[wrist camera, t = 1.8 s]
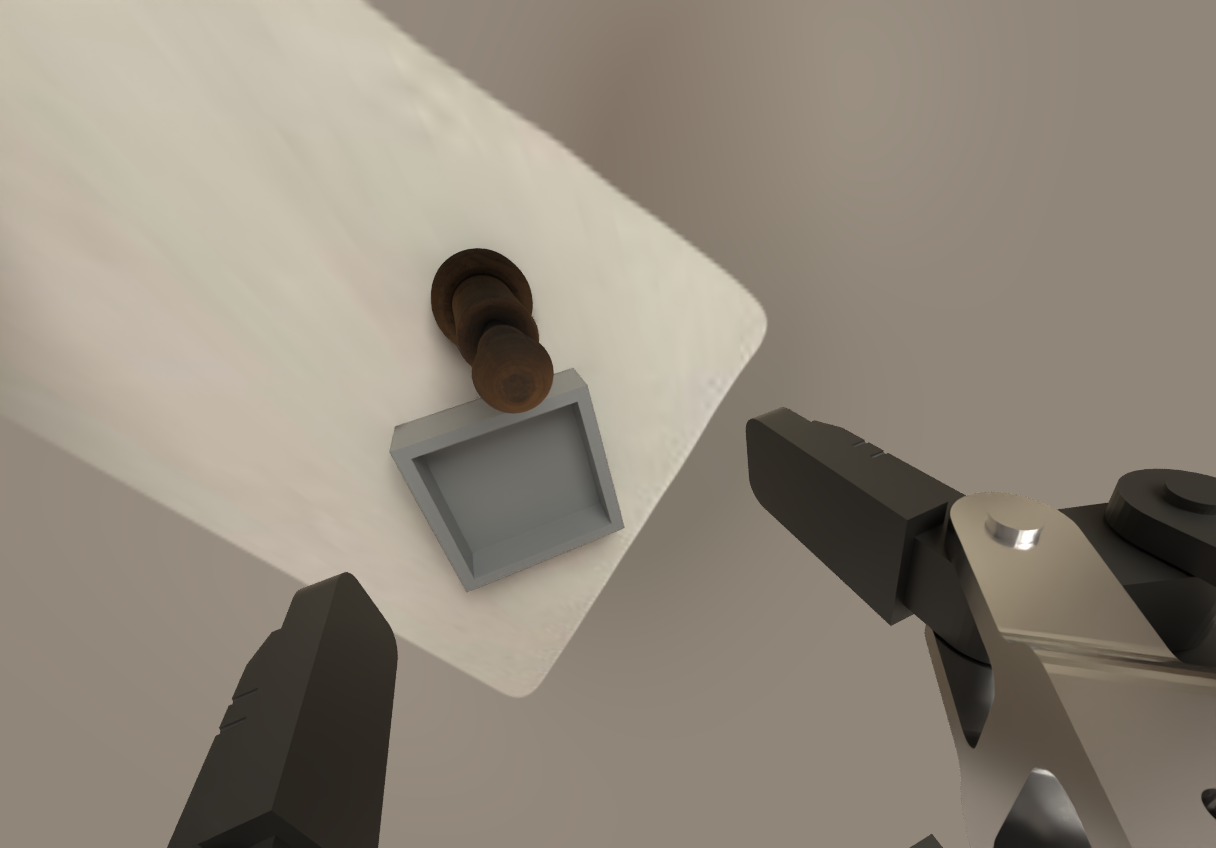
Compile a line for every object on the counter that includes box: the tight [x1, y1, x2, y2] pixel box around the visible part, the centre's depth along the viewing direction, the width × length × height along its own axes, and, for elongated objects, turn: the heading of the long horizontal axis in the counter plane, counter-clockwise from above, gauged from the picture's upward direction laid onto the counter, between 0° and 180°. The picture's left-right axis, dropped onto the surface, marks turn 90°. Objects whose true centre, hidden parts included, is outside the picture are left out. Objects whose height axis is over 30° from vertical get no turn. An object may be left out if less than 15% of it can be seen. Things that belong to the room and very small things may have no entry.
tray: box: [390, 368, 624, 592], centre depth 36 cm, size 14×14×4 cm
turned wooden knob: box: [431, 248, 554, 414], centre depth 23 cm, size 7×6×18 cm
